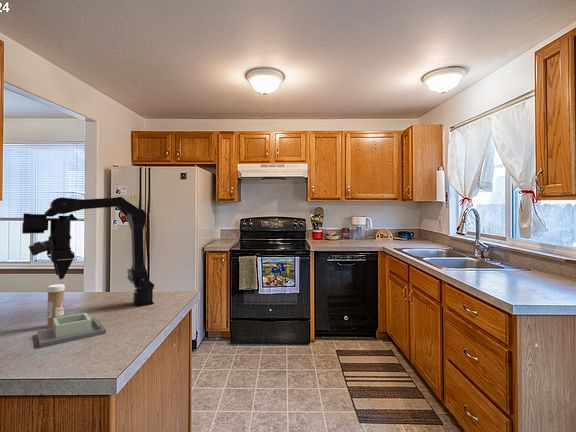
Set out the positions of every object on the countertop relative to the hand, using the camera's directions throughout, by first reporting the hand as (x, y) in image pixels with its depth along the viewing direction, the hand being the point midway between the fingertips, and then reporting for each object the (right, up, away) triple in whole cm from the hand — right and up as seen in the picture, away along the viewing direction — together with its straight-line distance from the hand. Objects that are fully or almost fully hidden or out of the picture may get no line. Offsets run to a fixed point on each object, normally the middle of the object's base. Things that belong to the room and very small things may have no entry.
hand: (59, 277), depth 107 cm
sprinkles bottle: (+4, -15, -7) cm, 17 cm away
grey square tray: (+14, -15, -14) cm, 25 cm away
